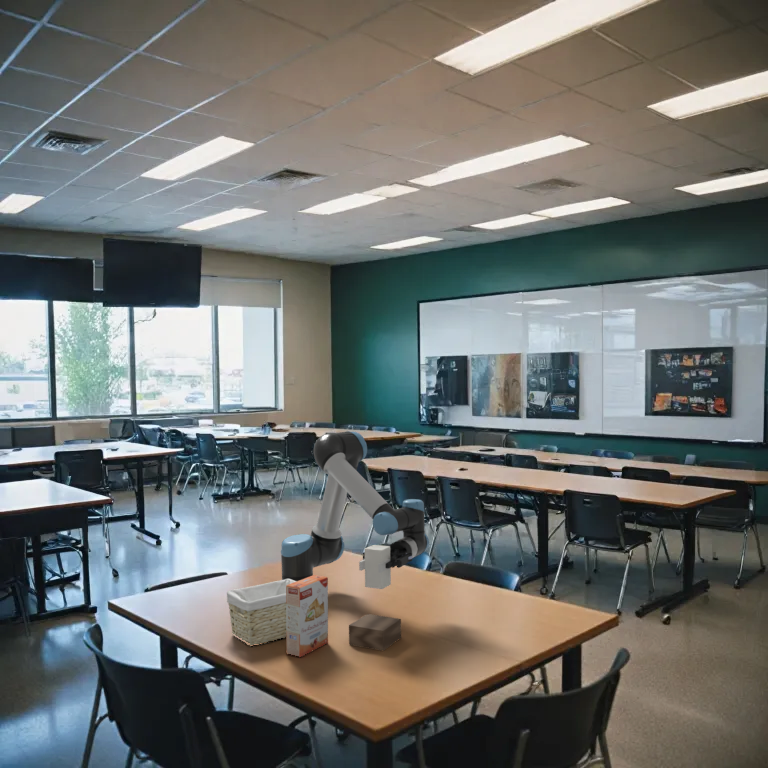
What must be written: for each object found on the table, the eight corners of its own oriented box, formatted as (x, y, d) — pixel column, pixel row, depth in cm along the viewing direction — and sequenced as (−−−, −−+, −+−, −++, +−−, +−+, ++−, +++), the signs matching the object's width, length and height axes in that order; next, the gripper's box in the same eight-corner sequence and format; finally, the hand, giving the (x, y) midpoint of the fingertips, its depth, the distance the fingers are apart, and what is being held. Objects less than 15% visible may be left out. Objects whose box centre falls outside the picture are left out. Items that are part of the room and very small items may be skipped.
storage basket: (247, 650, 216) (246, 602, 216) (225, 635, 229) (224, 590, 229) (315, 633, 230) (314, 587, 230) (290, 620, 243) (290, 577, 243)
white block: (365, 587, 221) (364, 548, 221) (374, 582, 227) (373, 544, 227) (382, 589, 219) (381, 550, 219) (390, 584, 224) (390, 546, 224)
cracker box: (301, 658, 208) (300, 587, 208) (285, 654, 211) (284, 584, 211) (329, 643, 220) (328, 576, 220) (314, 640, 223) (313, 573, 223)
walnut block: (349, 644, 219) (348, 625, 219) (368, 632, 229) (367, 613, 229) (383, 650, 213) (383, 630, 213) (401, 637, 224) (400, 618, 224)
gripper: (428, 564, 234) (397, 582, 214) (377, 559, 243) (343, 576, 222) (427, 542, 234) (397, 557, 214) (377, 537, 243) (343, 552, 222)
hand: (369, 567), depth 218 cm, fingers closed on white block, 6 cm apart
